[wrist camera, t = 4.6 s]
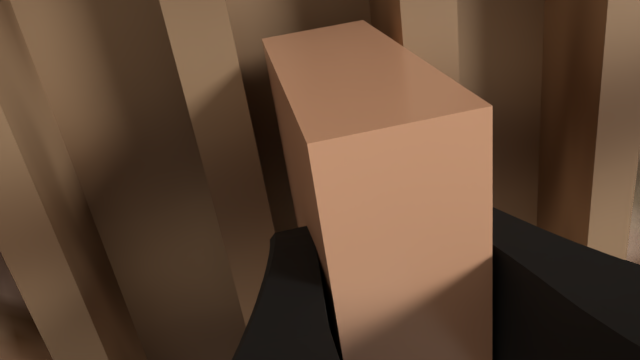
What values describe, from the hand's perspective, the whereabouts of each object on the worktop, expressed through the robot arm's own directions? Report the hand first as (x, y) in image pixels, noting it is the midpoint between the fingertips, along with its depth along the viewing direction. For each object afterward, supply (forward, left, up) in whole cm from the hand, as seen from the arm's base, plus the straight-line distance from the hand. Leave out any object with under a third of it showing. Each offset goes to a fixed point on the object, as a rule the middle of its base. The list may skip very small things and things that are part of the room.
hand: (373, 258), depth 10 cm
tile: (0, 0, -3) cm, 3 cm away
